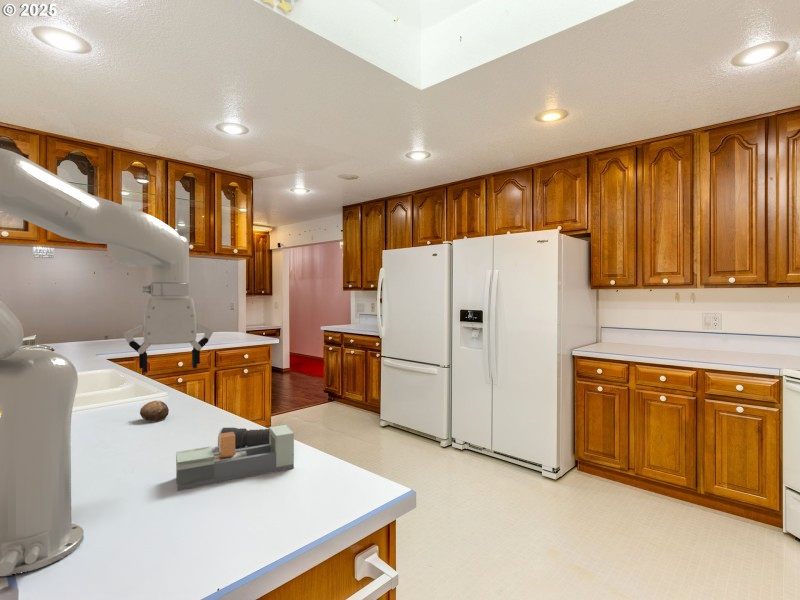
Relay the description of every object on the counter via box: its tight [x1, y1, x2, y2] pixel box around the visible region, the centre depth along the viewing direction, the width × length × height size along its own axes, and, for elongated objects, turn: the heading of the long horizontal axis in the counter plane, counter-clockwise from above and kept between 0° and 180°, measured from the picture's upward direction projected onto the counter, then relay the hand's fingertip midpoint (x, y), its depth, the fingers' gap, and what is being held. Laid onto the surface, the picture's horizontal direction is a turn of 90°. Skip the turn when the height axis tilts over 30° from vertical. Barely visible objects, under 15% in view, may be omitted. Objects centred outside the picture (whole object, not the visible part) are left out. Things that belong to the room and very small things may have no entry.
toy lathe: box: [175, 424, 295, 492], centre depth 98 cm, size 24×7×8 cm, turn 119°
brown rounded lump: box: [139, 400, 170, 423], centre depth 137 cm, size 8×8×6 cm
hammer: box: [214, 432, 247, 462], centre depth 95 cm, size 14×3×8 cm, turn 119°
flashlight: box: [217, 427, 269, 449], centre depth 114 cm, size 15×5×5 cm, turn 95°
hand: (170, 369), depth 96 cm, fingers open, 9 cm apart
